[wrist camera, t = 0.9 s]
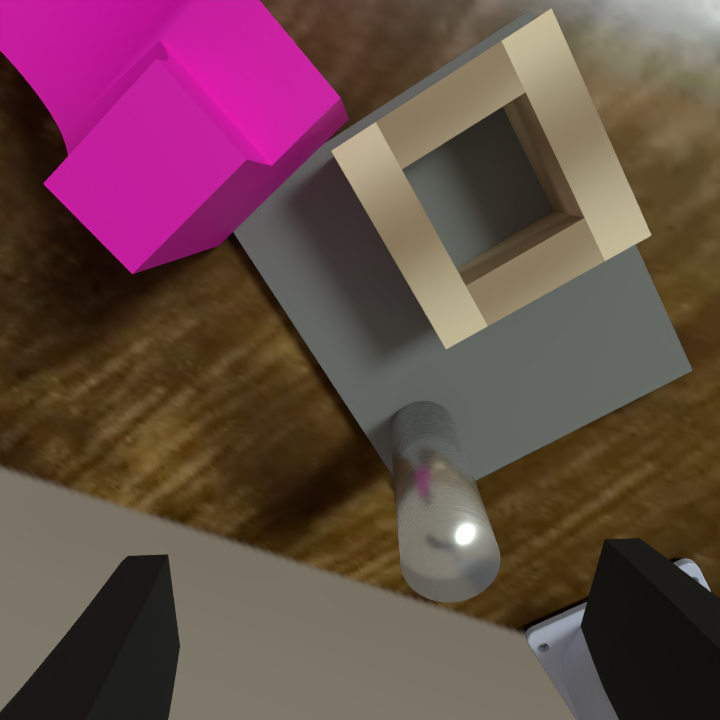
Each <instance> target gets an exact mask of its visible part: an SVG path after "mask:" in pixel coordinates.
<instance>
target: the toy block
mask: <svg viewBox="0 0 720 720" xmlns="http://www.w3.org/2000/svg"><path fill="white" fill-rule="evenodd" d="M0 51H1V52H2V53H3V54H4V55H5V56H6V57H7V58H8V59H9V61H10V62H11V63H12V64H13V65H14V66H15V67H16V68H17V70H18V71H19V72H20V73H21V74H22V76H23V77H24V78H25V79H26V80H27V82H28V83H29V84H30V85H31V87H32V88H33V89H34V91H35V92H36V93H37V95H38V96H39V97H40V99H41V100H42V101H43V103H44V104H45V106H46V107H47V109H48V110H49V112H50V113H51V115H52V117H53V118H54V120H55V122H56V123H57V125H58V127H59V129H60V131H61V133H62V136H63V138H64V141H65V144H66V148H67V152H68V157H67V158H66V159H65V160H64V161H63V162H62V164H61V165H60V166H59V167H58V168H57V169H56V170H55V171H54V172H53V174H52V175H51V176H50V177H49V178H48V179H47V180H46V181H45V182H44V183H43V184H44V185H45V186H46V187H47V188H48V189H49V190H50V191H51V192H52V193H53V194H54V195H55V196H56V197H57V198H58V199H59V200H60V201H61V202H62V203H63V204H64V205H65V206H66V207H67V208H68V209H69V210H70V211H71V212H72V213H73V214H74V215H75V216H76V217H77V218H78V219H79V220H80V222H81V223H82V224H83V225H84V226H85V227H86V228H87V229H88V230H89V231H90V232H91V233H92V234H93V235H94V236H95V237H96V238H97V239H98V240H99V241H100V242H101V243H102V244H103V245H104V246H105V247H106V248H107V249H108V250H109V251H110V252H111V253H112V254H113V255H114V256H115V257H116V258H117V259H118V260H119V261H120V262H121V263H122V264H123V265H124V266H125V267H126V268H127V269H128V270H129V271H130V272H131V273H132V274H134V273H137V272H140V271H144V270H147V269H150V268H153V267H156V266H159V265H162V264H165V263H168V262H171V261H174V260H177V259H180V258H183V257H186V256H189V255H192V254H195V253H198V252H201V251H204V250H207V249H210V248H213V247H216V246H219V245H220V244H221V243H222V242H223V241H224V240H225V239H226V238H227V237H228V236H229V235H230V234H231V233H232V232H234V231H235V230H236V229H237V228H238V227H239V226H240V225H241V224H242V223H243V222H244V221H245V220H246V219H247V218H248V217H249V216H250V215H251V214H252V213H253V212H254V211H255V210H256V209H257V208H258V207H259V206H260V205H261V204H262V203H263V202H264V201H265V200H266V199H268V198H269V197H270V196H271V195H272V194H273V193H274V192H275V191H276V190H277V189H278V188H279V187H280V186H281V185H282V184H283V183H284V182H285V181H286V180H287V179H288V178H289V177H290V176H291V175H292V174H293V173H294V172H295V171H296V170H297V169H298V168H299V167H300V166H301V165H303V164H304V163H305V162H306V161H307V160H308V159H309V158H310V157H311V156H312V155H313V154H314V153H315V152H316V151H317V150H318V149H319V148H320V147H321V146H322V145H323V144H324V143H325V142H326V141H327V140H328V139H329V138H330V137H331V136H332V135H333V134H334V133H335V132H336V131H338V130H339V129H340V128H341V127H342V126H343V125H344V124H345V123H346V122H347V121H348V120H349V118H348V116H347V113H346V111H345V108H344V105H343V103H342V100H341V98H340V97H339V96H338V94H337V93H336V92H335V91H334V89H333V88H332V87H331V86H330V85H329V83H328V82H327V81H326V80H325V79H324V77H323V76H322V75H321V74H320V73H319V71H318V70H317V69H316V68H315V67H314V65H313V64H312V63H311V62H310V61H309V59H308V58H307V57H306V56H305V55H304V53H303V52H302V51H301V50H300V49H299V47H298V46H297V45H296V44H295V43H294V41H293V40H292V39H291V38H290V37H289V35H288V34H287V33H286V32H285V31H284V29H283V28H282V27H281V26H280V25H279V23H278V22H277V21H276V20H275V19H274V17H273V16H272V15H271V14H270V13H269V11H268V10H267V9H266V8H265V7H264V5H263V4H262V3H261V2H260V1H259V0H0Z"/></svg>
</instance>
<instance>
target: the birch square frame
mask: <svg viewBox="0 0 720 720" xmlns="http://www.w3.org/2000/svg"><path fill="white" fill-rule="evenodd" d="M501 107H503V108H504V110H505V112H506V114H507V116H508V118H509V120H510V122H511V124H512V127H513V129H514V131H515V133H516V135H517V137H518V139H519V141H520V143H521V145H522V147H523V149H524V151H525V153H526V155H527V158H528V160H529V162H530V164H531V166H532V168H533V170H534V172H535V174H536V176H537V178H538V180H539V182H540V184H541V186H542V188H543V191H544V193H545V195H546V197H547V199H548V201H549V203H550V205H551V207H552V209H553V211H554V212H552V213H550V214H549V215H547V216H545V217H544V218H542V219H540V220H538V221H537V222H535V223H533V224H532V225H530V226H528V227H526V228H525V229H523V230H521V231H519V232H518V233H516V234H514V235H513V236H511V237H509V238H507V239H506V240H504V241H502V242H501V243H499V244H497V245H495V246H494V247H492V248H490V249H488V250H487V251H485V252H483V253H482V254H480V255H478V256H476V257H475V258H473V259H471V260H470V261H468V262H466V263H464V264H463V265H461V266H459V267H457V268H456V267H455V266H454V264H453V262H452V260H451V258H450V256H449V255H448V253H447V251H446V249H445V247H444V246H443V244H442V242H441V240H440V238H439V236H438V235H437V233H436V231H435V229H434V227H433V225H432V224H431V222H430V220H429V218H428V216H427V215H426V213H425V211H424V209H423V207H422V205H421V204H420V202H419V200H418V198H417V196H416V195H415V193H414V191H413V189H412V187H411V185H410V184H409V182H408V180H407V178H406V176H405V175H404V173H403V171H402V169H403V168H405V167H407V166H408V165H410V164H411V163H413V162H415V161H416V160H418V159H419V158H421V157H423V156H424V155H426V154H427V153H429V152H431V151H432V150H434V149H435V148H437V147H439V146H440V145H442V144H443V143H445V142H447V141H448V140H450V139H451V138H453V137H455V136H456V135H458V134H459V133H461V132H463V131H464V130H466V129H467V128H469V127H471V126H472V125H474V124H475V123H477V122H479V121H480V120H482V119H483V118H485V117H487V116H488V115H490V114H491V113H493V112H495V111H496V110H498V109H500V108H501ZM331 152H332V153H333V155H334V157H335V159H336V160H337V162H338V164H339V165H340V167H341V169H342V171H343V172H344V174H345V176H346V177H347V179H348V181H349V183H350V184H351V186H352V188H353V190H354V191H355V193H356V195H357V196H358V198H359V200H360V202H361V203H362V205H363V207H364V209H365V210H366V212H367V214H368V215H369V217H370V219H371V221H372V222H373V224H374V226H375V228H376V229H377V231H378V233H379V234H380V236H381V238H382V240H383V241H384V243H385V245H386V247H387V248H388V250H389V252H390V253H391V255H392V257H393V259H394V260H395V262H396V264H397V265H398V267H399V269H400V271H401V272H402V274H403V276H404V278H405V279H406V281H407V283H408V284H409V286H410V288H411V290H412V291H413V293H414V295H415V297H416V298H417V300H418V302H419V303H420V305H421V307H422V309H423V310H424V312H425V314H426V316H427V317H428V319H429V321H430V322H431V324H432V326H433V328H434V329H435V331H436V333H437V335H438V336H439V338H440V340H441V341H442V343H443V345H444V347H445V348H446V349H448V348H450V347H451V346H453V345H455V344H457V343H459V342H460V341H462V340H464V339H466V338H468V337H469V336H471V335H473V334H475V333H477V332H478V331H480V330H482V329H484V328H486V327H487V326H489V325H491V324H493V323H495V322H496V321H498V320H500V319H502V318H504V317H505V316H507V315H509V314H511V313H513V312H514V311H516V310H518V309H520V308H522V307H523V306H525V305H527V304H529V303H531V302H532V301H534V300H536V299H538V298H540V297H541V296H543V295H545V294H547V293H549V292H550V291H552V290H554V289H556V288H558V287H559V286H561V285H563V284H565V283H567V282H568V281H570V280H572V279H574V278H576V277H577V276H579V275H581V274H583V273H585V272H586V271H588V270H590V269H592V268H594V267H595V266H597V265H599V264H601V263H603V262H604V261H606V260H608V259H610V258H612V257H613V256H615V255H617V254H619V253H621V252H622V251H624V250H626V249H628V248H630V247H631V246H633V245H635V244H637V243H639V242H640V241H642V240H644V239H646V238H648V237H649V236H651V233H650V231H649V229H648V227H647V224H646V222H645V220H644V217H643V215H642V213H641V211H640V208H639V206H638V204H637V202H636V199H635V197H634V195H633V192H632V190H631V188H630V186H629V183H628V181H627V179H626V177H625V174H624V172H623V170H622V167H621V165H620V163H619V161H618V158H617V156H616V154H615V152H614V149H613V147H612V145H611V142H610V140H609V138H608V136H607V133H606V131H605V129H604V127H603V124H602V122H601V120H600V117H599V115H598V113H597V111H596V108H595V106H594V104H593V102H592V99H591V97H590V95H589V92H588V90H587V88H586V86H585V83H584V81H583V79H582V77H581V74H580V72H579V70H578V67H577V65H576V63H575V61H574V58H573V56H572V54H571V52H570V49H569V47H568V45H567V42H566V40H565V38H564V36H563V33H562V31H561V29H560V27H559V24H558V22H557V20H556V18H555V15H554V13H553V11H552V9H550V10H548V11H547V12H545V13H544V14H542V15H541V16H539V17H538V18H536V19H534V20H533V21H531V22H530V23H528V24H527V25H525V26H524V27H522V28H521V29H519V30H517V31H516V32H514V33H513V34H511V35H510V36H508V37H507V38H505V39H504V40H502V41H500V42H499V43H497V44H496V45H494V46H493V47H491V48H490V49H488V50H487V51H485V52H483V53H482V54H480V55H479V56H477V57H476V58H474V59H473V60H471V61H469V62H468V63H466V64H465V65H463V66H462V67H460V68H459V69H457V70H456V71H454V72H452V73H451V74H449V75H448V76H446V77H445V78H443V79H442V80H440V81H439V82H437V83H435V84H434V85H432V86H431V87H429V88H428V89H426V90H425V91H423V92H422V93H420V94H418V95H417V96H415V97H414V98H412V99H411V100H409V101H408V102H406V103H405V104H403V105H401V106H400V107H398V108H397V109H395V110H394V111H392V112H391V113H389V114H387V115H386V116H384V117H383V118H381V119H380V120H378V121H377V122H375V123H374V124H372V125H370V126H369V127H367V128H366V129H364V130H363V131H361V132H360V133H358V134H357V135H355V136H353V137H352V138H350V139H349V140H347V141H346V142H344V143H343V144H341V145H340V146H338V147H336V148H335V149H333V150H332V151H331Z"/></svg>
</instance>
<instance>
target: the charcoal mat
mask: <svg viewBox="0 0 720 720" xmlns="http://www.w3.org/2000/svg"><path fill="white" fill-rule="evenodd" d="M533 20H534V17H533V15H532V13H531V11H530V10H529V11H528V12H526V13H525V14H523V15H521V16H520V17H518V18H517V19H515V20H514V21H512V22H511V23H509V24H508V25H506V26H505V27H503V28H502V29H500V30H498V31H497V32H495V33H494V34H492V35H491V36H489V37H488V38H486V39H485V40H483V41H482V42H480V43H478V44H477V45H475V46H474V47H472V48H471V49H469V50H468V51H466V52H465V53H463V54H462V55H460V56H458V57H457V58H455V59H454V60H452V61H451V62H449V63H448V64H446V65H445V66H443V67H442V68H440V69H438V70H437V71H435V72H434V73H432V74H431V75H429V76H428V77H426V78H425V79H423V80H422V81H420V82H418V83H417V84H415V85H414V86H412V87H411V88H409V89H408V90H406V91H405V92H403V93H402V94H400V95H398V96H397V97H395V98H394V99H392V100H391V101H389V102H388V103H386V104H385V105H383V106H382V107H380V108H378V109H377V110H375V111H374V112H372V113H371V114H369V115H368V116H366V117H365V118H363V119H362V120H360V121H358V122H357V123H355V124H354V125H352V126H351V127H349V128H348V129H346V130H345V131H343V132H342V133H340V134H338V135H337V136H335V137H334V138H332V139H331V140H329V141H328V142H326V143H325V144H323V145H322V146H321V147H320V148H319V149H318V150H317V151H316V152H315V153H314V154H313V155H312V156H311V157H310V158H309V159H308V160H307V161H306V162H305V163H304V164H303V165H301V166H300V167H299V168H298V169H297V170H296V171H295V172H294V173H293V174H292V175H291V176H290V177H289V178H288V179H287V180H286V181H285V182H284V183H283V184H282V185H281V186H280V187H279V188H278V189H277V190H276V191H275V192H274V193H273V194H272V195H271V196H270V197H269V198H268V199H266V200H265V201H264V202H263V203H262V204H261V205H260V206H259V207H258V208H257V209H256V210H255V211H254V212H253V213H252V214H251V215H250V216H249V217H248V218H247V219H246V220H245V221H244V222H243V223H242V224H241V225H240V226H239V227H238V228H237V229H236V230H235V231H234V232H233V233H234V234H235V236H236V237H237V239H238V240H239V242H240V243H241V245H242V246H243V248H244V249H245V251H246V252H247V254H248V255H249V257H250V259H251V260H252V262H253V263H254V265H255V266H256V268H257V269H258V271H259V272H260V274H261V275H262V277H263V278H264V280H265V281H266V283H267V285H268V286H269V288H270V289H271V291H272V292H273V294H274V295H275V297H276V298H277V300H278V301H279V303H280V304H281V306H282V307H283V309H284V311H285V312H286V314H287V315H288V317H289V318H290V320H291V321H292V323H293V324H294V326H295V327H296V329H297V330H298V332H299V333H300V335H301V337H302V338H303V340H304V341H305V343H306V344H307V346H308V347H309V349H310V350H311V352H312V353H313V355H314V356H315V358H316V359H317V361H318V363H319V364H320V366H321V367H322V369H323V370H324V372H325V373H326V375H327V376H328V378H329V379H330V381H331V382H332V384H333V385H334V387H335V389H336V390H337V392H338V393H339V395H340V396H341V398H342V399H343V401H344V402H345V404H346V405H347V407H348V408H349V410H350V411H351V413H352V415H353V416H354V418H355V419H356V421H357V422H358V424H359V425H360V427H361V428H362V430H363V431H364V433H365V434H366V436H367V437H368V439H369V441H370V442H371V444H372V445H373V447H374V448H375V450H376V451H377V453H378V454H379V456H380V457H381V459H382V460H383V462H384V463H385V465H386V467H387V468H388V470H389V471H390V473H391V474H392V476H393V467H392V455H391V443H390V425H391V422H392V419H393V417H394V416H395V414H396V413H397V412H398V411H399V410H400V409H401V408H403V407H404V406H406V405H408V404H410V403H413V402H417V401H430V402H434V403H437V404H439V405H441V406H443V407H444V408H445V409H446V410H447V411H448V412H449V413H450V414H451V416H452V417H453V419H454V422H455V425H456V428H457V431H458V434H459V437H460V439H461V442H462V445H463V448H464V451H465V454H466V456H467V459H468V462H469V465H470V468H471V471H472V474H473V476H474V479H475V481H476V480H478V479H480V478H482V477H484V476H486V475H487V474H489V473H491V472H493V471H495V470H497V469H499V468H501V467H503V466H505V465H507V464H509V463H511V462H513V461H515V460H517V459H519V458H521V457H523V456H525V455H527V454H529V453H531V452H533V451H535V450H537V449H539V448H541V447H543V446H545V445H547V444H549V443H551V442H553V441H555V440H557V439H559V438H560V437H562V436H564V435H566V434H568V433H570V432H572V431H574V430H576V429H578V428H580V427H582V426H584V425H586V424H588V423H590V422H592V421H594V420H596V419H598V418H600V417H602V416H604V415H606V414H608V413H610V412H612V411H614V410H616V409H618V408H620V407H622V406H624V405H626V404H628V403H630V402H632V401H633V400H635V399H637V398H639V397H641V396H643V395H645V394H647V393H649V392H651V391H653V390H655V389H657V388H659V387H661V386H663V385H665V384H667V383H669V382H671V381H673V380H675V379H677V378H679V377H681V376H683V375H685V374H687V373H689V372H691V371H693V370H692V368H691V366H690V364H689V361H688V359H687V357H686V355H685V353H684V350H683V348H682V346H681V344H680V341H679V339H678V337H677V335H676V333H675V330H674V328H673V326H672V324H671V321H670V319H669V317H668V315H667V313H666V310H665V308H664V306H663V304H662V301H661V299H660V297H659V295H658V293H657V290H656V288H655V286H654V284H653V281H652V279H651V277H650V275H649V273H648V270H647V268H646V266H645V264H644V261H643V259H642V257H641V255H640V253H639V250H638V248H637V246H636V244H635V245H633V246H631V247H630V248H628V249H626V250H624V251H622V252H621V253H619V254H617V255H615V256H613V257H612V258H610V259H608V260H606V261H604V262H603V263H601V264H599V265H597V266H595V267H594V268H592V269H590V270H588V271H586V272H585V273H583V274H581V275H579V276H577V277H576V278H574V279H572V280H570V281H568V282H567V283H565V284H563V285H561V286H559V287H558V288H556V289H554V290H552V291H550V292H549V293H547V294H545V295H543V296H541V297H540V298H538V299H536V300H534V301H532V302H531V303H529V304H527V305H525V306H523V307H522V308H520V309H518V310H516V311H514V312H513V313H511V314H509V315H507V316H505V317H504V318H502V319H500V320H498V321H496V322H495V323H493V324H491V325H489V326H487V327H486V328H484V329H482V330H480V331H478V332H477V333H475V334H473V335H471V336H469V337H468V338H466V339H464V340H462V341H460V342H459V343H457V344H455V345H453V346H451V347H450V348H448V349H446V348H445V347H444V345H443V343H442V341H441V340H440V338H439V336H438V335H437V333H436V331H435V329H434V328H433V326H432V324H431V322H430V321H429V319H428V317H427V316H426V314H425V312H424V310H423V309H422V307H421V305H420V303H419V302H418V300H417V298H416V297H415V295H414V293H413V291H412V290H411V288H410V286H409V284H408V283H407V281H406V279H405V278H404V276H403V274H402V272H401V271H400V269H399V267H398V265H397V264H396V262H395V260H394V259H393V257H392V255H391V253H390V252H389V250H388V248H387V247H386V245H385V243H384V241H383V240H382V238H381V236H380V234H379V233H378V231H377V229H376V228H375V226H374V224H373V222H372V221H371V219H370V217H369V215H368V214H367V212H366V210H365V209H364V207H363V205H362V203H361V202H360V200H359V198H358V196H357V195H356V193H355V191H354V190H353V188H352V186H351V184H350V183H349V181H348V179H347V177H346V176H345V174H344V172H343V171H342V169H341V167H340V165H339V164H338V162H337V160H336V159H335V157H334V155H333V153H332V152H331V151H332V150H333V149H335V148H336V147H338V146H340V145H341V144H343V143H344V142H346V141H347V140H349V139H350V138H352V137H353V136H355V135H357V134H358V133H360V132H361V131H363V130H364V129H366V128H367V127H369V126H370V125H372V124H374V123H375V122H377V121H378V120H380V119H381V118H383V117H384V116H386V115H387V114H389V113H391V112H392V111H394V110H395V109H397V108H398V107H400V106H401V105H403V104H405V103H406V102H408V101H409V100H411V99H412V98H414V97H415V96H417V95H418V94H420V93H422V92H423V91H425V90H426V89H428V88H429V87H431V86H432V85H434V84H435V83H437V82H439V81H440V80H442V79H443V78H445V77H446V76H448V75H449V74H451V73H452V72H454V71H456V70H457V69H459V68H460V67H462V66H463V65H465V64H466V63H468V62H469V61H471V60H473V59H474V58H476V57H477V56H479V55H480V54H482V53H483V52H485V51H487V50H488V49H490V48H491V47H493V46H494V45H496V44H497V43H499V42H500V41H502V40H504V39H505V38H507V37H508V36H510V35H511V34H513V33H514V32H516V31H517V30H519V29H521V28H522V27H524V26H525V25H527V24H528V23H530V22H531V21H533ZM402 171H403V173H404V175H405V176H406V178H407V180H408V182H409V184H410V185H411V187H412V189H413V191H414V193H415V195H416V196H417V198H418V200H419V202H420V204H421V205H422V207H423V209H424V211H425V213H426V215H427V216H428V218H429V220H430V222H431V224H432V225H433V227H434V229H435V231H436V233H437V235H438V236H439V238H440V240H441V242H442V244H443V246H444V247H445V249H446V251H447V253H448V255H449V256H450V258H451V260H452V262H453V264H454V266H455V267H456V268H457V267H459V266H461V265H463V264H464V263H466V262H468V261H470V260H471V259H473V258H475V257H476V256H478V255H480V254H482V253H483V252H485V251H487V250H488V249H490V248H492V247H494V246H495V245H497V244H499V243H501V242H502V241H504V240H506V239H507V238H509V237H511V236H513V235H514V234H516V233H518V232H519V231H521V230H523V229H525V228H526V227H528V226H530V225H532V224H533V223H535V222H537V221H538V220H540V219H542V218H544V217H545V216H547V215H549V214H550V213H552V212H554V211H553V209H552V207H551V205H550V203H549V201H548V199H547V197H546V195H545V193H544V191H543V188H542V186H541V184H540V182H539V180H538V178H537V176H536V174H535V172H534V170H533V168H532V166H531V164H530V162H529V160H528V158H527V155H526V153H525V151H524V149H523V147H522V145H521V143H520V141H519V139H518V137H517V135H516V133H515V131H514V129H513V127H512V124H511V122H510V120H509V118H508V116H507V114H506V112H505V110H504V108H503V107H501V108H500V109H498V110H496V111H495V112H493V113H491V114H490V115H488V116H487V117H485V118H483V119H482V120H480V121H479V122H477V123H475V124H474V125H472V126H471V127H469V128H467V129H466V130H464V131H463V132H461V133H459V134H458V135H456V136H455V137H453V138H451V139H450V140H448V141H447V142H445V143H443V144H442V145H440V146H439V147H437V148H435V149H434V150H432V151H431V152H429V153H427V154H426V155H424V156H423V157H421V158H419V159H418V160H416V161H415V162H413V163H411V164H410V165H408V166H407V167H405V168H403V169H402Z"/></svg>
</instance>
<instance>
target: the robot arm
mask: <svg viewBox="0 0 720 720" xmlns="http://www.w3.org/2000/svg"><path fill="white" fill-rule="evenodd" d="M692 577H693V578H692ZM525 636H526V639H527V642H528V644H529V646H530V648H531V649H532V651H533V652H534V654H535V655H536V657H537V659H538V660H539V662H540V663H541V665H542V666H543V668H544V670H545V671H546V672H547V674H548V676H549V677H550V679H551V680H552V682H553V684H554V685H555V687H556V688H557V690H558V691H559V693H560V695H561V696H562V698H563V699H564V701H565V703H566V704H567V706H568V707H569V709H570V710H571V712H572V713H573V715H574V717H575V718H576V720H720V598H718V597H717V596H716V595H714V594H713V593H712V592H711V591H710V589H709V587H708V585H707V583H706V581H705V579H704V577H703V575H702V573H701V571H700V569H699V567H698V566H697V565H696V564H695V563H694V561H693V560H690V559H681V560H678V561H676V562H674V563H672V562H671V561H670V560H668V559H667V558H666V557H664V556H663V555H662V554H660V553H659V552H658V551H656V550H655V549H653V548H652V547H651V546H649V545H648V544H646V543H645V542H644V541H642V540H641V539H639V538H633V539H605V540H604V544H603V547H602V551H601V555H600V558H599V562H598V565H597V569H596V572H595V576H594V579H593V583H592V586H591V590H590V594H589V597H588V601H587V602H585V603H583V604H581V605H579V606H576V607H574V608H572V609H570V610H567V611H565V612H563V613H561V614H559V615H556V616H554V617H552V618H550V619H547V620H545V621H543V622H541V623H539V624H536V625H534V626H532V627H530V628H529V629H528V630H527V631H526V635H525ZM543 643H545V645H542V646H539V645H540V644H543ZM179 648H180V643H179V635H178V627H177V620H176V613H175V605H174V597H173V590H172V581H171V574H170V566H169V558H168V555H141V556H128V557H126V558H125V559H124V560H123V561H122V562H121V563H120V565H119V566H118V567H117V569H116V570H115V571H114V573H113V574H112V575H111V577H110V578H109V579H108V581H107V582H106V583H105V585H104V586H103V587H102V589H101V590H100V591H99V593H98V594H97V595H96V597H95V598H94V599H93V600H92V602H91V603H90V604H89V606H88V607H87V608H86V610H85V611H84V612H83V613H82V615H81V616H80V617H79V618H78V620H77V621H76V622H75V623H74V625H73V626H72V627H71V629H70V630H69V631H68V632H67V634H66V635H65V636H64V638H63V639H62V640H61V641H60V642H59V643H58V645H57V646H56V647H55V648H54V650H53V651H52V652H51V653H50V654H49V655H48V657H47V658H46V659H45V660H44V662H43V663H42V664H41V665H40V666H39V668H38V669H37V670H36V671H35V672H34V674H33V675H32V676H31V677H30V679H29V680H28V681H27V682H26V683H25V684H24V686H23V687H22V688H21V689H20V690H19V691H18V693H17V694H16V695H15V696H14V697H13V698H12V699H11V700H10V702H9V703H8V704H7V705H6V706H5V707H4V708H3V709H2V711H1V712H0V720H168V717H169V712H170V705H171V700H172V694H173V688H174V681H175V675H176V669H177V662H178V655H179Z"/></svg>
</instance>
